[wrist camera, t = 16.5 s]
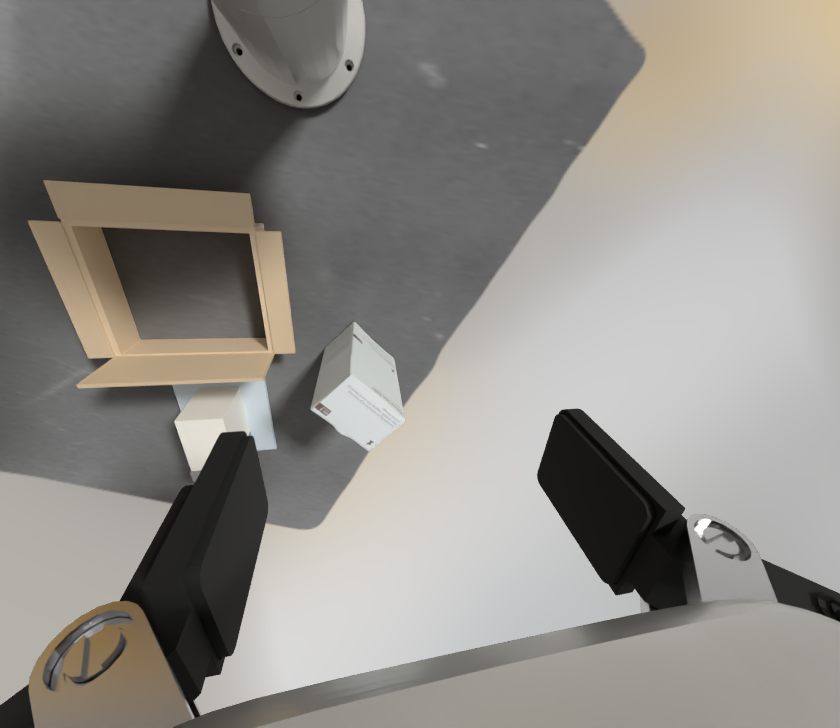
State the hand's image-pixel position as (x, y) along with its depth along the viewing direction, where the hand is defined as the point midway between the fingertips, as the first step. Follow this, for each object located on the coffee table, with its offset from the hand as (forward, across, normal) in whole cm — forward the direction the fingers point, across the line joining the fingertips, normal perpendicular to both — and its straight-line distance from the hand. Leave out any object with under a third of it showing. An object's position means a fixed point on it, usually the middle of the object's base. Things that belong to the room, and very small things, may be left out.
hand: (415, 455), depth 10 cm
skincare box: (+34, +1, +13) cm, 37 cm away
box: (+34, +19, +22) cm, 45 cm away
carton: (+34, +19, +2) cm, 39 cm away
